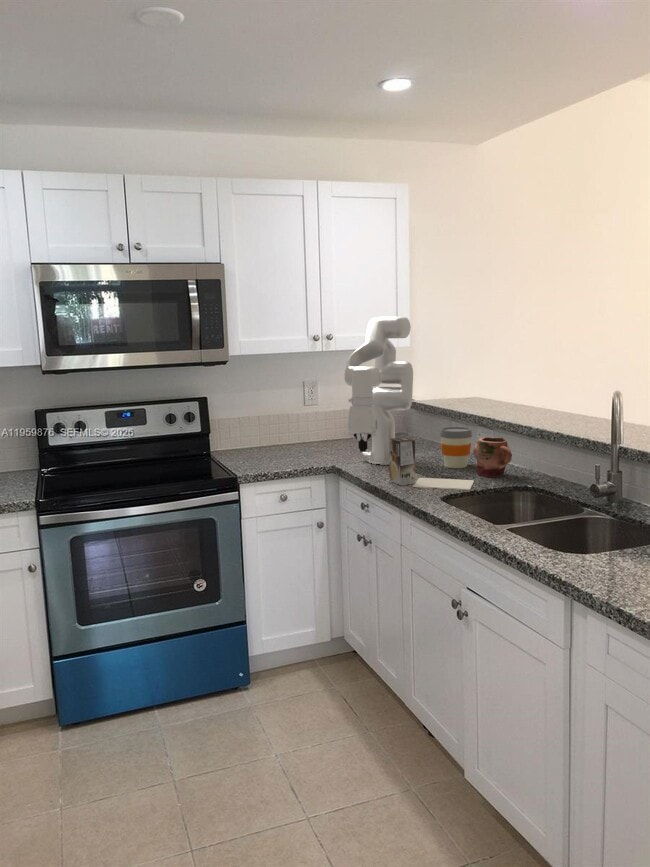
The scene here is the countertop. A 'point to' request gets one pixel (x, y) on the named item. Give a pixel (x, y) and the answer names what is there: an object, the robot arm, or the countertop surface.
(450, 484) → the mat
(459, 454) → the reusable coffee cup
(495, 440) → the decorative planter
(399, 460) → the coffee box
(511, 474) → the countertop surface
